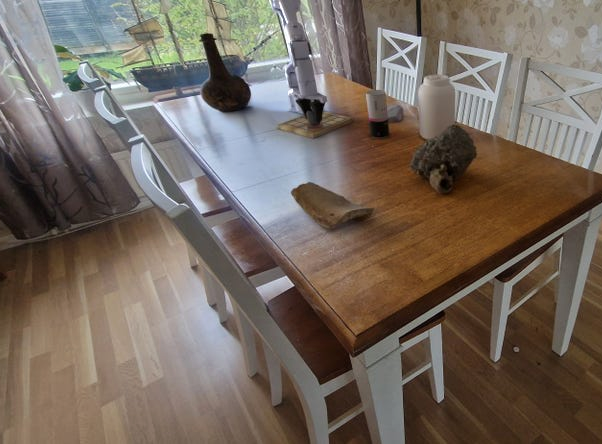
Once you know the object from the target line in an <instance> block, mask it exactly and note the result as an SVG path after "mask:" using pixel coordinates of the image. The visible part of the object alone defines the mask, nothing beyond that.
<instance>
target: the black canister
mask: <svg viewBox="0 0 602 444" xmlns="http://www.w3.org/2000/svg"><path fill="white" fill-rule="evenodd" d="M306 115H307V120H308V123H309V124H310V125H319V124H320V122H321V121H320V122H317V121H316V119H315V115H314V112H313V109H312V108H311V109H307V111H306Z"/></svg>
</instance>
